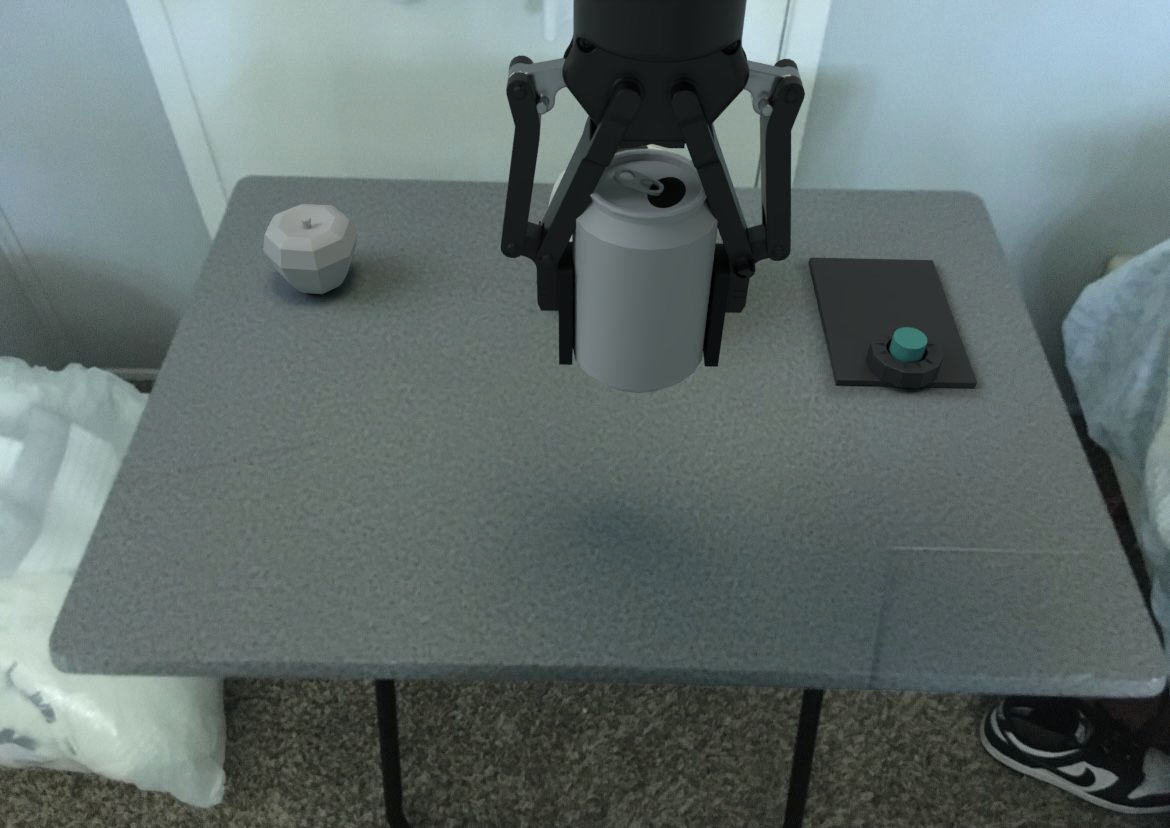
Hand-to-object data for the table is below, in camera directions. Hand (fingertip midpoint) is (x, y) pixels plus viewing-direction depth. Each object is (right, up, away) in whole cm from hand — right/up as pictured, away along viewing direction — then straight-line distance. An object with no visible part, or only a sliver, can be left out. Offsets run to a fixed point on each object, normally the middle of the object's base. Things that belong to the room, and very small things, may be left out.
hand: (637, 349), depth 59 cm
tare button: (+22, +1, +22) cm, 32 cm away
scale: (+22, +4, +28) cm, 36 cm away
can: (0, -1, +1) cm, 1 cm away
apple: (-26, +8, +31) cm, 41 cm away
